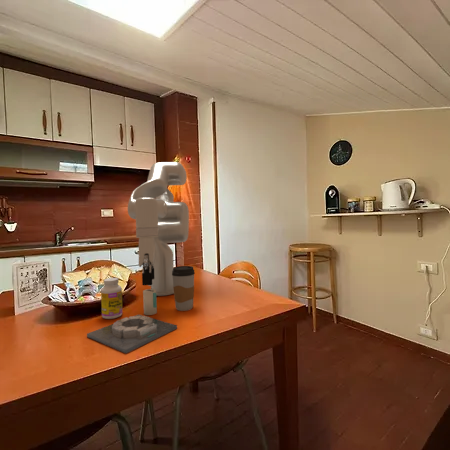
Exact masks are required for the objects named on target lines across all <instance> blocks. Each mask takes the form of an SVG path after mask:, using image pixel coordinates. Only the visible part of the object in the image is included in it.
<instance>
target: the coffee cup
mask: <svg viewBox="0 0 450 450" xmlns="http://www.w3.org/2000/svg"><path fill="white" fill-rule="evenodd" d="M172 276H173V288H174V294H173V296H174V297H173V298H174V302H175V303H174V304H175V306H174V307H175V309H176V310H177V311H180V312H183V311H185V312H186V311H190V310H193V307H194V296H195V269H194V266H190V265H179V266H175V267H174V266H173V271H172Z"/></svg>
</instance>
